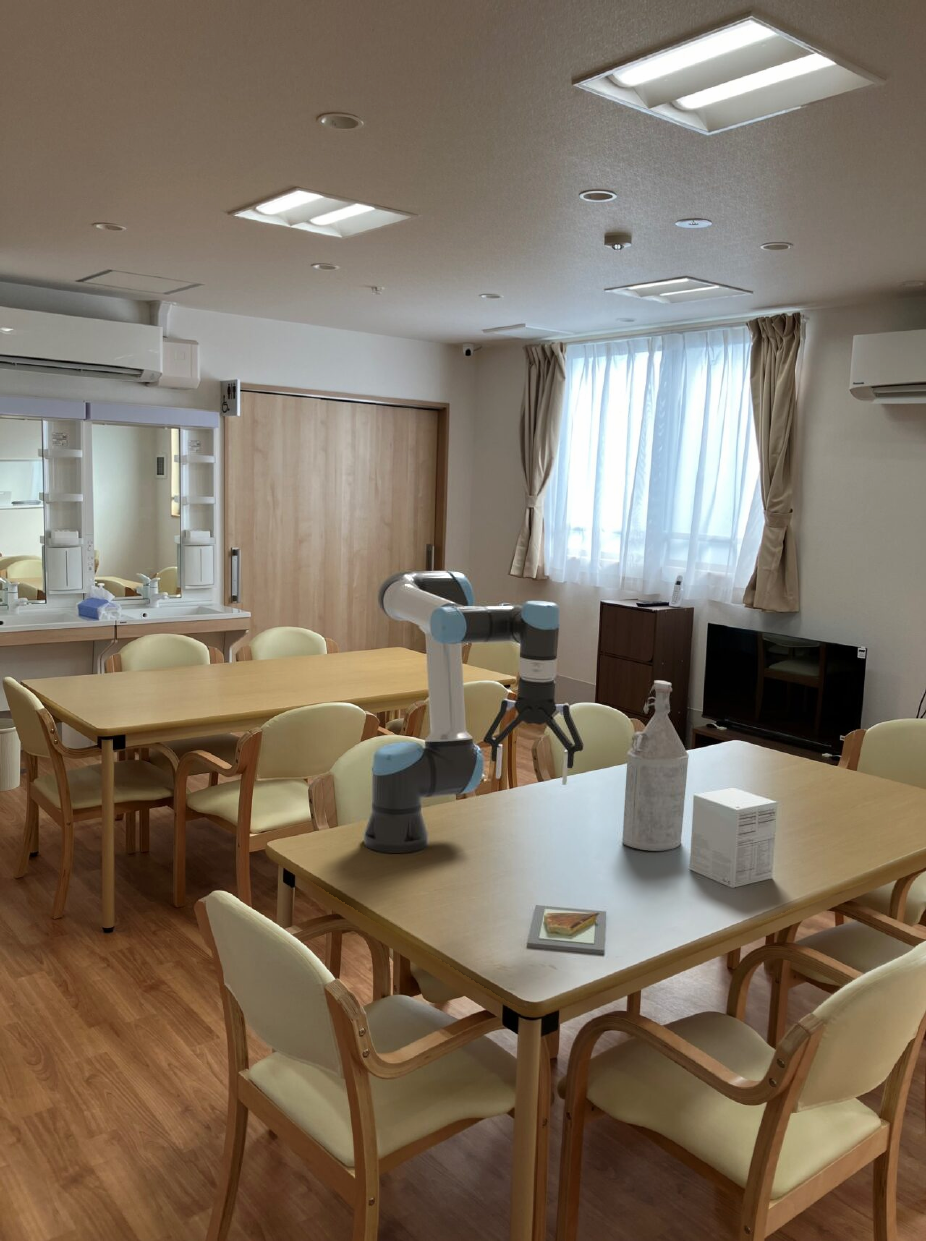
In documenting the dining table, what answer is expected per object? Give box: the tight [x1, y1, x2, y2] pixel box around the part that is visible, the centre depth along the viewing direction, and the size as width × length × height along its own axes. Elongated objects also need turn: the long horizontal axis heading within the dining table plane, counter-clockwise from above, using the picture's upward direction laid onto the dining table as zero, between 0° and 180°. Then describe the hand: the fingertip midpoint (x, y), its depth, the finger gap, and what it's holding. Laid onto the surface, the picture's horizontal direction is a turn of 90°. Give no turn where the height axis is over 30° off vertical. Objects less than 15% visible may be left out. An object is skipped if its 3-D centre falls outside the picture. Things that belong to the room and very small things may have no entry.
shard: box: [544, 913, 599, 935], centre depth 191 cm, size 11×8×2 cm
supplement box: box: [689, 787, 778, 889], centre depth 224 cm, size 13×13×18 cm
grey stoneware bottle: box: [621, 679, 690, 852], centre depth 242 cm, size 13×17×40 cm
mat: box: [526, 904, 607, 955], centre depth 192 cm, size 14×18×1 cm
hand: (531, 779), depth 207 cm, fingers open, 13 cm apart
